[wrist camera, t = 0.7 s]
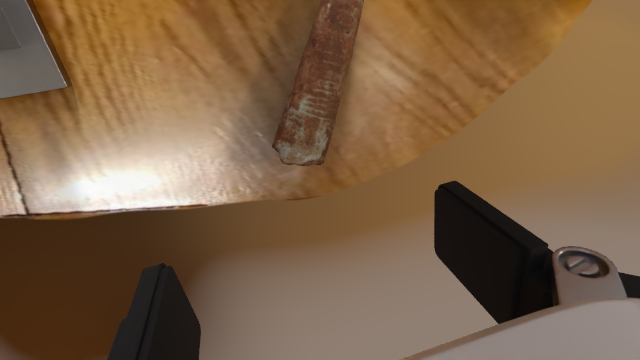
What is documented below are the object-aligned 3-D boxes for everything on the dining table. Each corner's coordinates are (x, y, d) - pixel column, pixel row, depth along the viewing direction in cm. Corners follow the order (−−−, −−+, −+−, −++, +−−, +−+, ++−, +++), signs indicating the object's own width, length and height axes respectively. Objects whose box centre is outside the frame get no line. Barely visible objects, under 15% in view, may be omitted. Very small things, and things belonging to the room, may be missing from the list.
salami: (267, 145, 40) (272, 163, 35) (321, -28, 33) (337, -37, 29) (315, 158, 42) (326, 176, 37) (374, -2, 36) (397, -6, 31)
